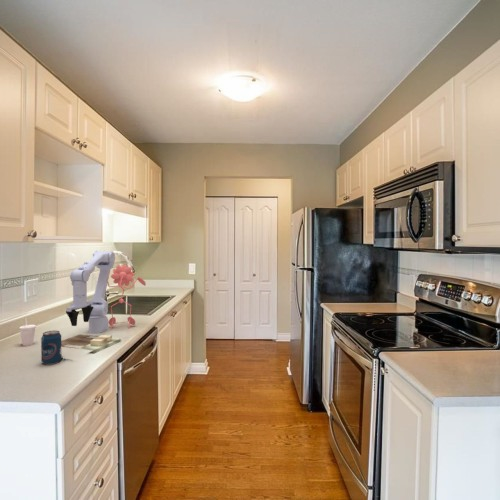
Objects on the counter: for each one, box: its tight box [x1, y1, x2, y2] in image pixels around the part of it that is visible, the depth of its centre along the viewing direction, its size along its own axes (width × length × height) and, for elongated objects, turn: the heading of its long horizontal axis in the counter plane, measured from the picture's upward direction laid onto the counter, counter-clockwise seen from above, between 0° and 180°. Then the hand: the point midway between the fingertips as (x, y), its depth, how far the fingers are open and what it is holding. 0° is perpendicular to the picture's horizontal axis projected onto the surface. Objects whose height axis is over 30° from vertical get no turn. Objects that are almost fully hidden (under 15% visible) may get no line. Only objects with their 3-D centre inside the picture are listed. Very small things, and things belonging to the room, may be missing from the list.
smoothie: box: [19, 316, 37, 347], centre depth 152 cm, size 6×6×14 cm
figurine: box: [107, 264, 146, 330], centre depth 192 cm, size 15×26×35 cm, turn 98°
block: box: [90, 334, 113, 347], centre depth 154 cm, size 9×5×2 cm, turn 172°
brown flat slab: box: [61, 333, 122, 355], centre depth 157 cm, size 18×24×2 cm
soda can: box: [40, 330, 63, 366], centre depth 134 cm, size 7×7×12 cm
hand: (80, 323), depth 159 cm, fingers open, 7 cm apart
